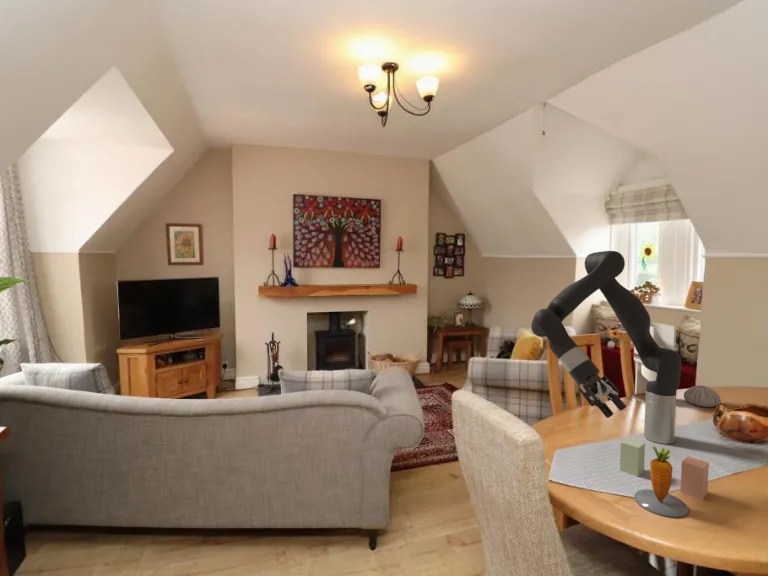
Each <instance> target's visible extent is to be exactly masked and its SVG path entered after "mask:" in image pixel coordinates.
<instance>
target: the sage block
mask: <svg viewBox="0 0 768 576" xmlns="http://www.w3.org/2000/svg"><path fill="white" fill-rule="evenodd" d="M645 449H646V442H644V441H643V442H642V441H639V440H636V439H633V438H630V437H626V438H625V439H624V440H623V441H620V455H619V457H620V460H619V471H620V472H623V473H626V474H628V475H632V476H635V477H640V475H642V474H643V473H644V472H645V455H646V450H645Z"/></svg>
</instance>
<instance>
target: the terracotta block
mask: <svg viewBox="0 0 768 576" xmlns="http://www.w3.org/2000/svg"><path fill="white" fill-rule="evenodd" d="M709 466H710V462H708V461H705V460H701V459H699V458H695V457H693V456H688V455H687V456H686V457H685V458H684V459H683V460H682V461H681V470H680V471H681V472H680V490H679V491H680V493H681V494H684V495H686V496H689V497H691V498H695V499H698V500H700V501H703V500H704V498H705V497H706V496H707V495H708V489H709V488H708V487H709V469H710V467H709Z"/></svg>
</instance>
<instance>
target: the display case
mask: <svg viewBox="0 0 768 576" xmlns="http://www.w3.org/2000/svg"><path fill="white" fill-rule="evenodd" d="M650 334H651V336H652V337H653V339H654V341H655V342H656V343H657V345H658V346H660V347H662V348H666V349H670V350H673V351H676V345H677V344H676V342H677V326H675V325H674V326H673V325H670V324H665V323H659V322H650ZM633 346H634V345H633ZM633 351H634V353H633V360H634V361H635V384H634V387H635V388H634V393H632V399H634V400H637V401H639V403H643V404H644V405H645V401H646V384H647V382H649V381H656V377H657V372H654V371H651V370H649V369H647V368H646V367H645V366H644V365H643V363H642V361H641V359H640V357H639V355H638V352H637V350H636V348H635V346H634V349H633Z"/></svg>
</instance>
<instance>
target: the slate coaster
mask: <svg viewBox="0 0 768 576" xmlns="http://www.w3.org/2000/svg"><path fill="white" fill-rule="evenodd" d="M634 500H635V502H636V504H638V505H639V507H641V508H643V509H644V510H646V511H647V512H650V513H652V514H654V515H658V516H660V517H666V518H672V519H673V518H674V519H675V518H684V517H685V516H688V514H689V507H688V505H687V504H686V503H685V502H684V501H683V500H682V499H680V498H678V497H677V496H675V495H673V494H670V493H668V494H667V496H666V497H665V498H664V500H663V501H661V502H660V501H659V500H658V499H657V497H656V495H655V493H654V490H653V489H640V490H638V491H636V492H635V493H634Z"/></svg>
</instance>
